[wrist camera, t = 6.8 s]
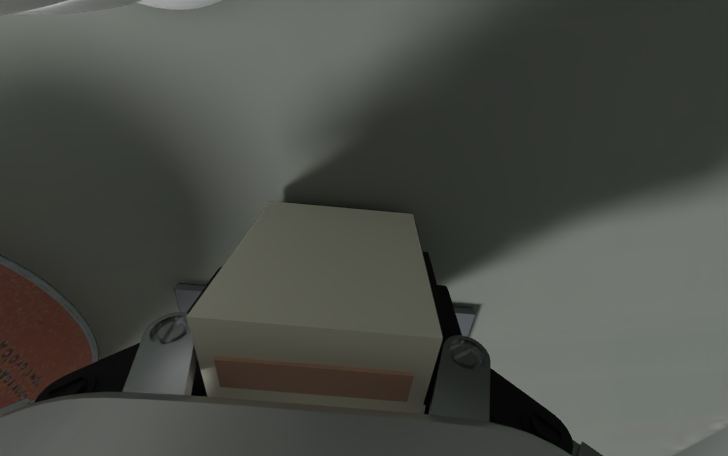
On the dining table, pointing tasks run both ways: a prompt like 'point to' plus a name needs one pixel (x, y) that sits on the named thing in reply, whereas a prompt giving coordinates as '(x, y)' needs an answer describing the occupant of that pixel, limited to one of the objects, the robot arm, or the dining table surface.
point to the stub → (321, 312)
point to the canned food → (37, 335)
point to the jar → (90, 5)
